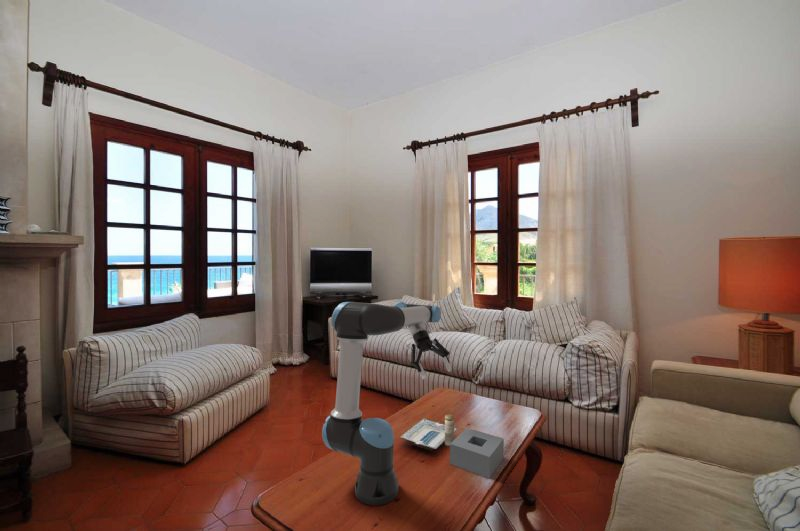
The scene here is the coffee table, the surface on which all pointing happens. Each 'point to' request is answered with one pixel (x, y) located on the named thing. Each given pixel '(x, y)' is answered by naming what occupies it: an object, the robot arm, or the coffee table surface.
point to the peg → (449, 429)
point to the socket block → (477, 452)
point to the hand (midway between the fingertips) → (437, 374)
